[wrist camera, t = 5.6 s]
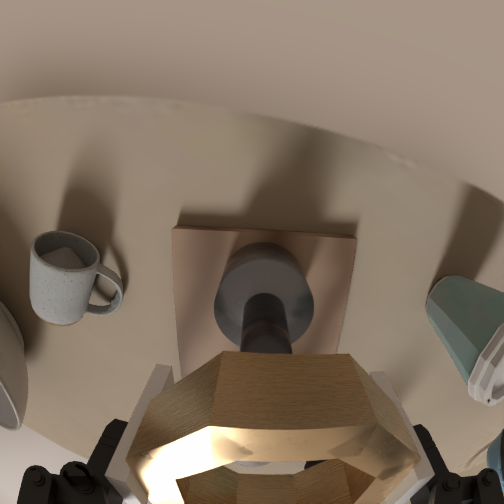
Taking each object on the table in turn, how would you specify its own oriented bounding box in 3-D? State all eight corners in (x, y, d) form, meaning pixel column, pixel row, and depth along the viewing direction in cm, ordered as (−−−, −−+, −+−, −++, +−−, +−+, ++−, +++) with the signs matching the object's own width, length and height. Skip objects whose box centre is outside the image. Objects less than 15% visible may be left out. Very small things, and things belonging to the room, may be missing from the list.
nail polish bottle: (306, 244, 25) (356, 324, 12) (297, 317, 27) (324, 428, 14) (223, 239, 25) (187, 317, 12) (222, 313, 27) (197, 424, 14)
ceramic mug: (51, 282, 29) (15, 309, 21) (61, 224, 26) (18, 241, 19) (119, 322, 30) (90, 360, 22) (136, 263, 28) (102, 294, 20)
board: (352, 235, 26) (357, 239, 25) (313, 415, 33) (315, 423, 32) (176, 225, 26) (171, 228, 25) (189, 409, 33) (187, 417, 32)
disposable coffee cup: (455, 240, 26) (548, 287, 12) (482, 293, 28) (552, 347, 14) (396, 305, 28) (468, 390, 14) (432, 349, 30) (488, 422, 16)
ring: (419, 348, 8) (469, 417, 5) (349, 480, 11) (360, 530, 7) (138, 339, 8) (88, 418, 5) (174, 476, 11) (161, 529, 7)
